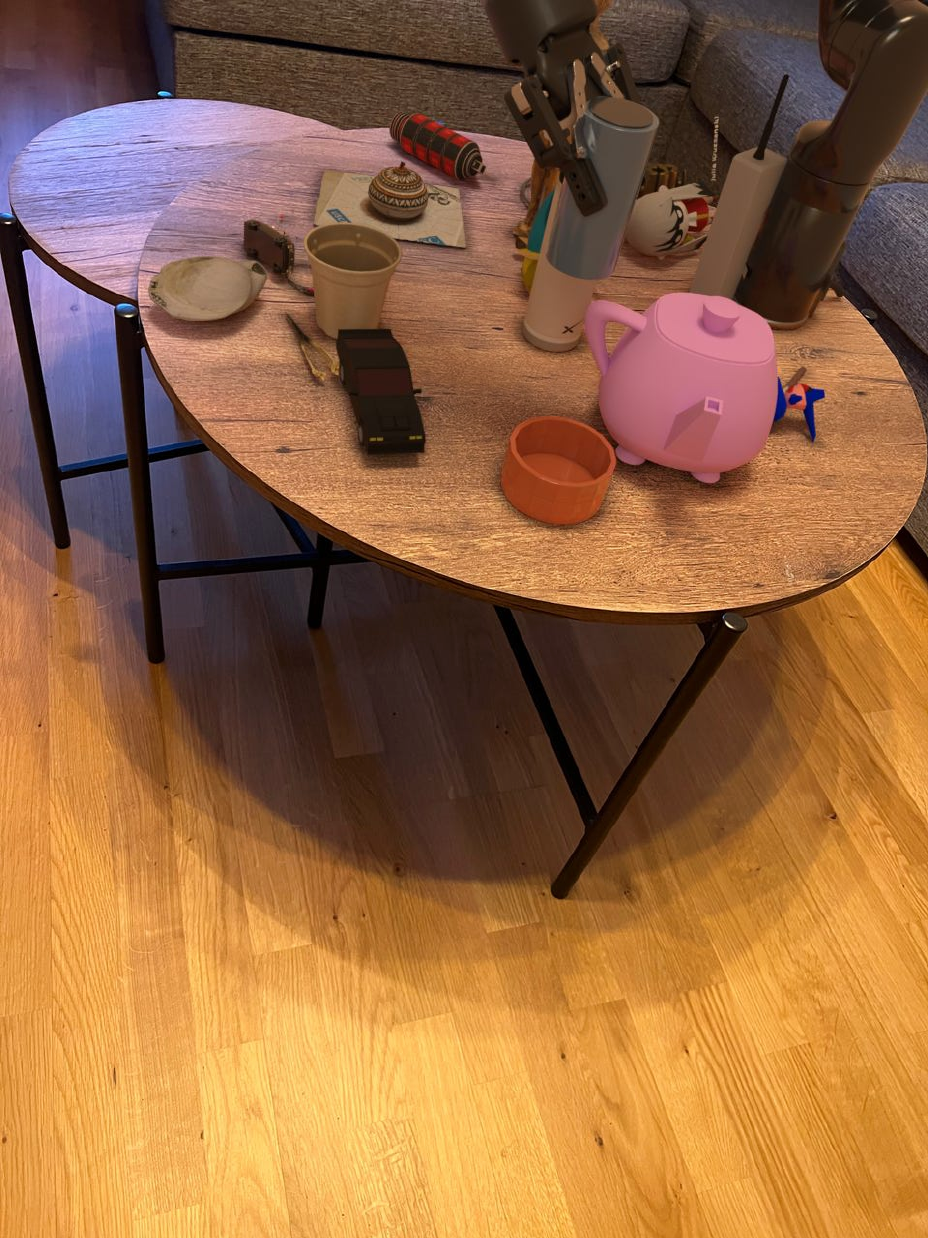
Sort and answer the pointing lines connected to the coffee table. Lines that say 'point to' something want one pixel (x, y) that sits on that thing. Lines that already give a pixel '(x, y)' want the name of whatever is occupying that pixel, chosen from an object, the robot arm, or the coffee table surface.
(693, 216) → the toy
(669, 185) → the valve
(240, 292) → the seashell
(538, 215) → the toy
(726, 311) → the teapot
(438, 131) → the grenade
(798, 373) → the pen
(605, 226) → the grey metal cylinder
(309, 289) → the necklace
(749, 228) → the vintage mobile phone
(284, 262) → the toy car
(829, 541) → the coffee table surface
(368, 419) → the toy car
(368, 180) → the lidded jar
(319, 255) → the flower pot
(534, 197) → the sculpture
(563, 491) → the orange round bowl
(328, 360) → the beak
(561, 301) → the travel mug
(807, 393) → the figurine
